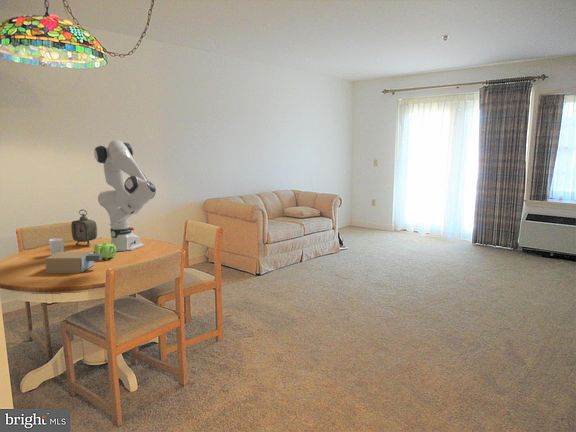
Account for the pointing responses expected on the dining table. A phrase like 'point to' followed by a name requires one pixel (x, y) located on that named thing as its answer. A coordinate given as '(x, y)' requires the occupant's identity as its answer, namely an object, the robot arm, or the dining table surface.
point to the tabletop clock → (84, 229)
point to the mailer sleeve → (64, 262)
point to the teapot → (105, 250)
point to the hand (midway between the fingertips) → (114, 224)
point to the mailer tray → (86, 264)
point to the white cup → (56, 245)
